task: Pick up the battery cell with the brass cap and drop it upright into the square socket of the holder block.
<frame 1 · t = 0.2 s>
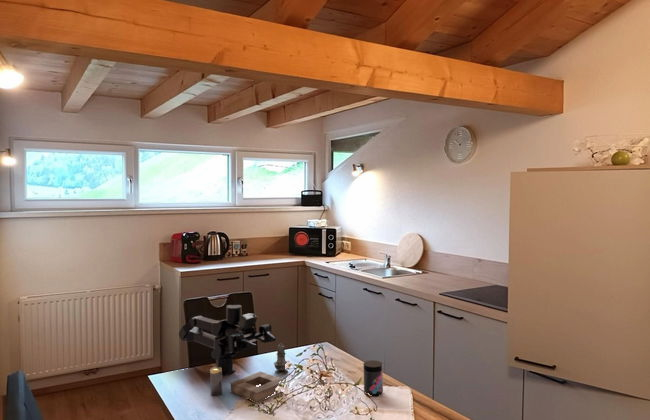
hand: (265, 343, 173), 17 cm above the table, tool horizontal, fingers open, 9 cm apart
battery cell: (216, 394, 169), on the table
supplement container: (373, 393, 168), on the table
weathered candle holder: (281, 372, 189), on the table
holder block: (258, 391, 171), on the table
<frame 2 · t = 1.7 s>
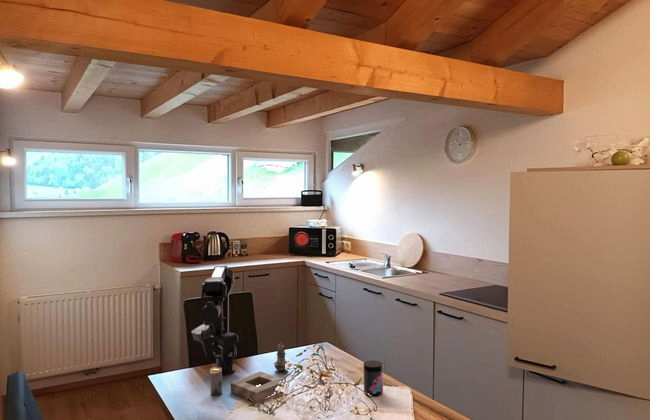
hand: (215, 359, 169), 12 cm above the table, tool pointing down, fingers open, 9 cm apart
nothing on the table moved.
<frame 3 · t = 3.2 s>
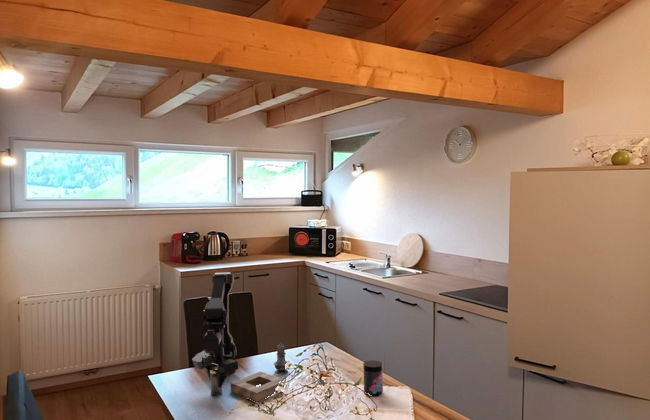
hand: (216, 385, 169), 3 cm above the table, tool pointing down, fingers closed on battery cell, 4 cm apart
battery cell: (216, 394, 169), on the table, touching gripper
everything else where it was.
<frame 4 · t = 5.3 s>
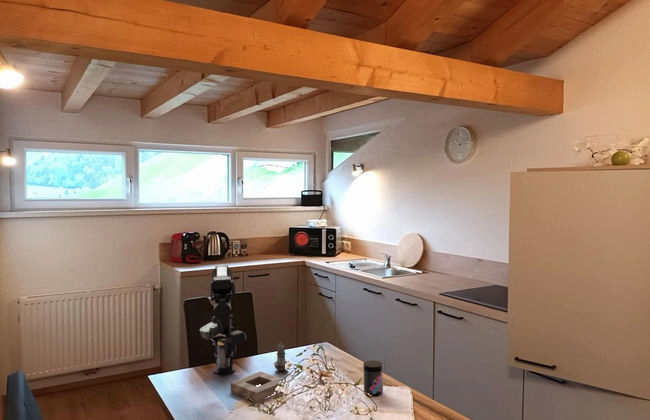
hand: (223, 357, 169), 13 cm above the table, tool pointing down, fingers closed on battery cell, 4 cm apart
battery cell: (223, 365, 169), point 10 cm above the table, touching gripper
everything else where it was.
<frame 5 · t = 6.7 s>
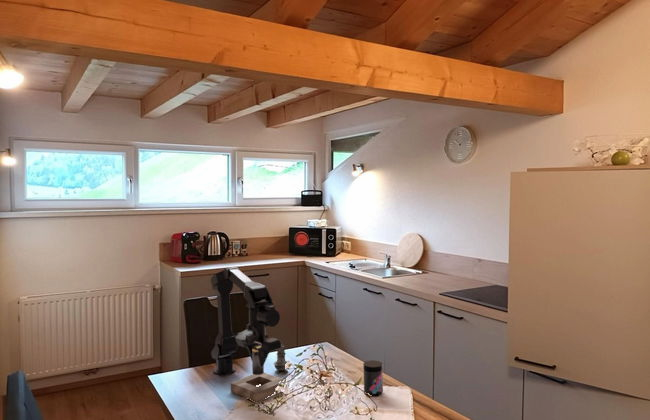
hand: (258, 364, 171), 10 cm above the table, tool pointing down, fingers closed on battery cell, 4 cm apart
battery cell: (258, 372, 171), point 7 cm above the table, touching gripper
everything else where it was.
when the fingers open (5 cm above the table, at t = 7.8 s): battery cell drops 1 cm, resting on holder block.
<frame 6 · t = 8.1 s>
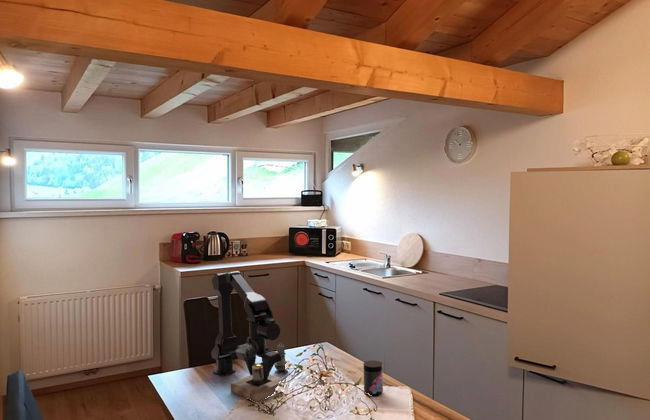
hand: (258, 377, 171), 5 cm above the table, tool pointing down, fingers open, 7 cm apart
battery cell: (258, 389, 171), point 1 cm above the table, touching holder block
everything else where it was.
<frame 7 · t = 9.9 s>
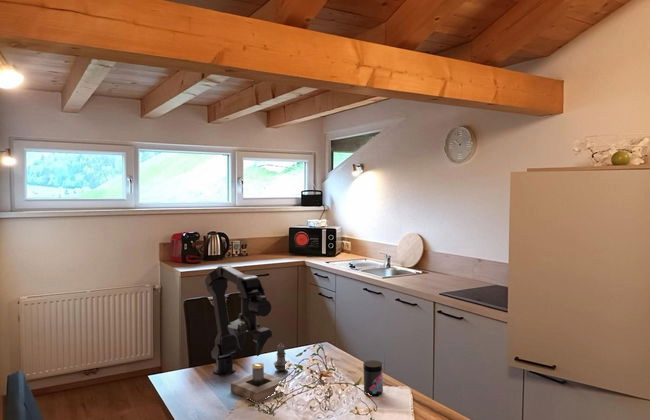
hand: (249, 352, 175), 12 cm above the table, tool pointing down, fingers open, 9 cm apart
nothing on the table moved.
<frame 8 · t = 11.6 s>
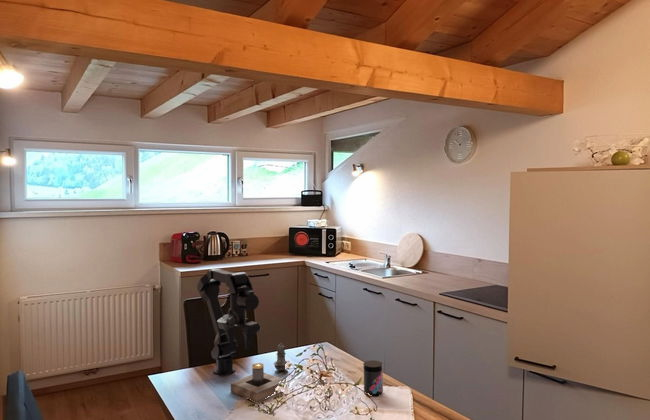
hand: (239, 346, 181), 13 cm above the table, tool pointing down, fingers open, 9 cm apart
nothing on the table moved.
at the end: battery cell 0.1 cm off-centre on the holder block, point 0.5 cm above the holder block's base; battery cell tilted 0°; the gripper is holding nothing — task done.
